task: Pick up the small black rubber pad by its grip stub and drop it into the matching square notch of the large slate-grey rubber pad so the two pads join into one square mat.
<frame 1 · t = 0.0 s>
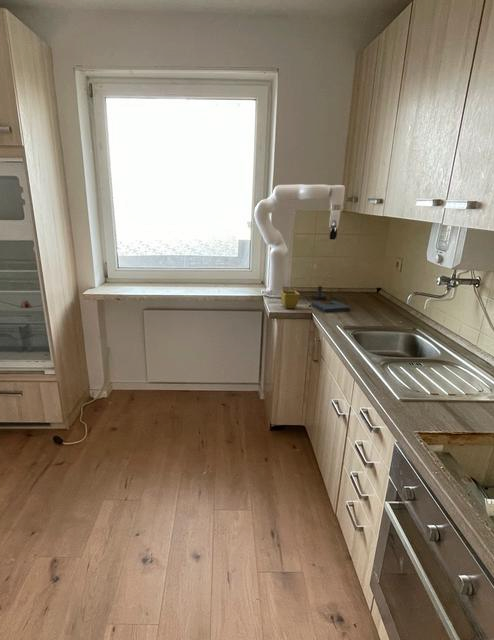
hand: (332, 238, 248), 37 cm above the countertop, tool pointing down, fingers open, 9 cm apart
small pad: (318, 298, 265), on the countertop
big pad: (330, 308, 243), on the countertop
flower pot: (289, 307, 243), on the countertop
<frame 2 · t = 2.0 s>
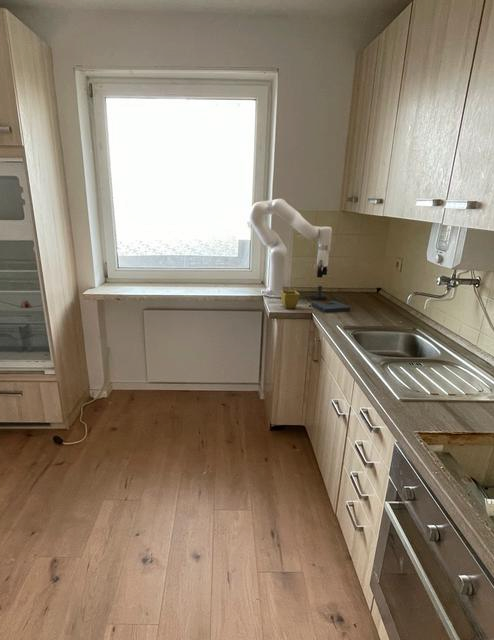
hand: (321, 276, 259), 14 cm above the countertop, tool pointing down, fingers open, 9 cm apart
nothing on the countertop moved.
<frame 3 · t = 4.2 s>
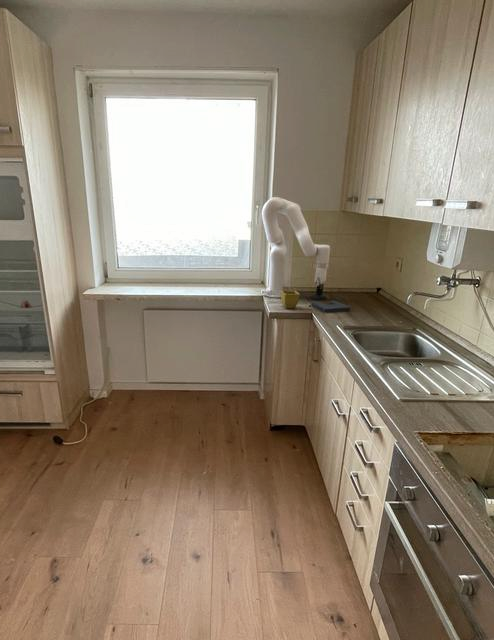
hand: (319, 294, 264), 3 cm above the countertop, tool pointing down, fingers closed on small pad, 2 cm apart
small pad: (318, 298, 265), on the countertop, touching gripper
everything else where it was.
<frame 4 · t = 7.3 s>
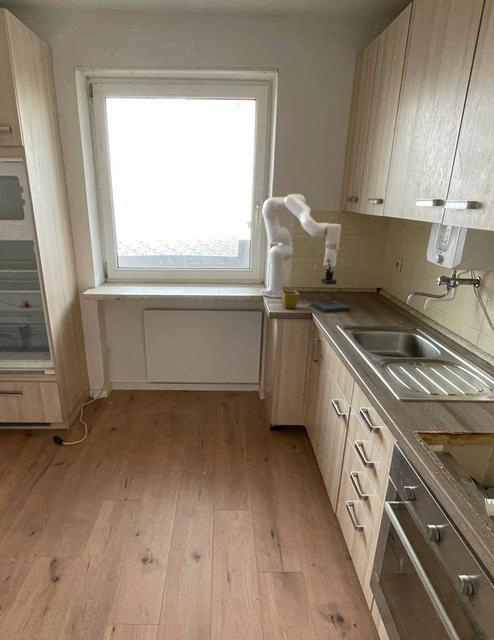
hand: (329, 278, 242), 16 cm above the countertop, tool pointing down, fingers closed on small pad, 2 cm apart
small pad: (328, 283, 243), point 13 cm above the countertop, touching gripper
everything else where it was.
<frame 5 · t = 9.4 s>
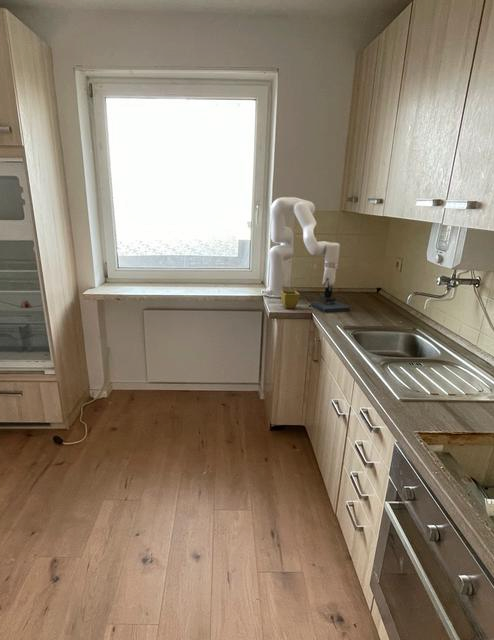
hand: (327, 296, 244), 6 cm above the countertop, tool pointing down, fingers closed on small pad, 2 cm apart
small pad: (327, 300, 245), point 3 cm above the countertop, touching gripper
everything else where it was.
when the fingers open (3 cm above the countertop, at t = 10.6 s): small pad stays where it is, on the countertop.
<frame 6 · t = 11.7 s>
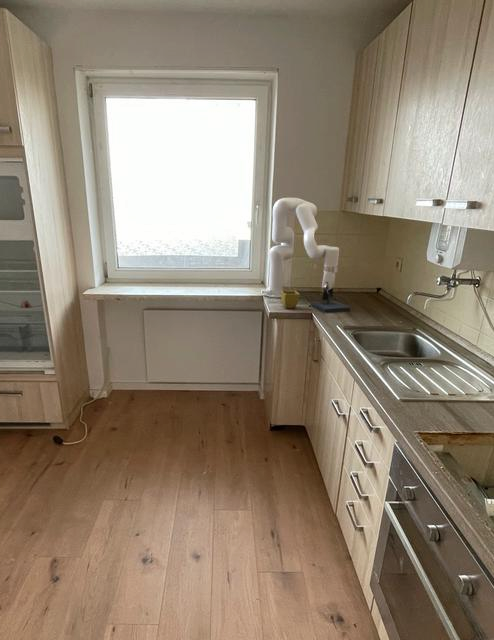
hand: (327, 298, 245), 5 cm above the countertop, tool pointing down, fingers open, 9 cm apart
small pad: (327, 306, 247), on the countertop
everything else where it was.
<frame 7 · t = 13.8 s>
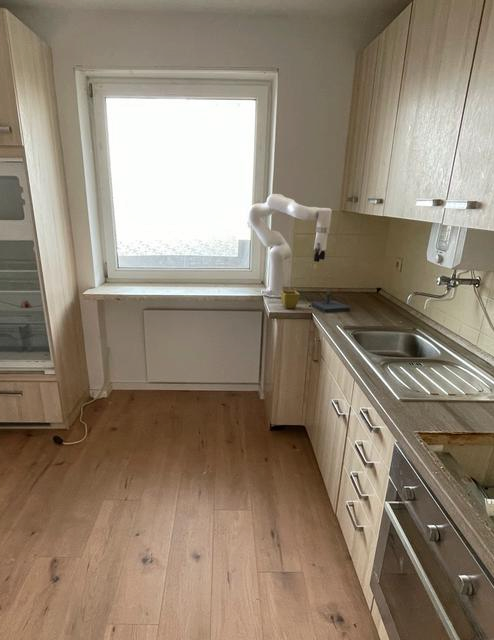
hand: (319, 260, 248), 25 cm above the countertop, tool pointing down, fingers open, 9 cm apart
nothing on the countertop moved.
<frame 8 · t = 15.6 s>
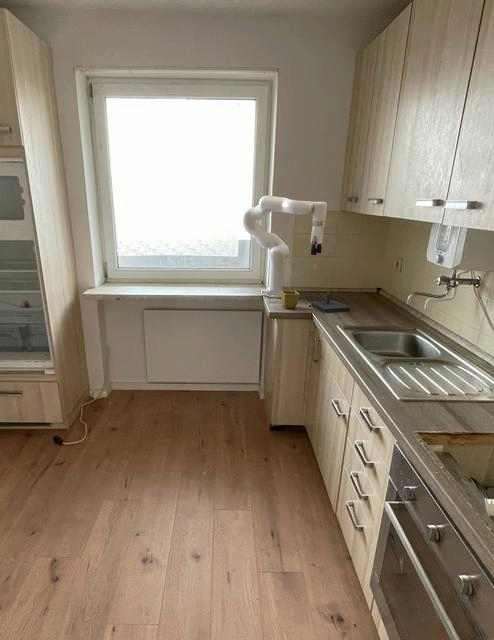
hand: (316, 253, 251), 28 cm above the countertop, tool pointing down, fingers open, 9 cm apart
nothing on the countertop moved.
at the end: small pad 0.2 cm from the target spot on the big pad, point 0.0 cm above the big pad's base; small pad tilted 0° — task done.
